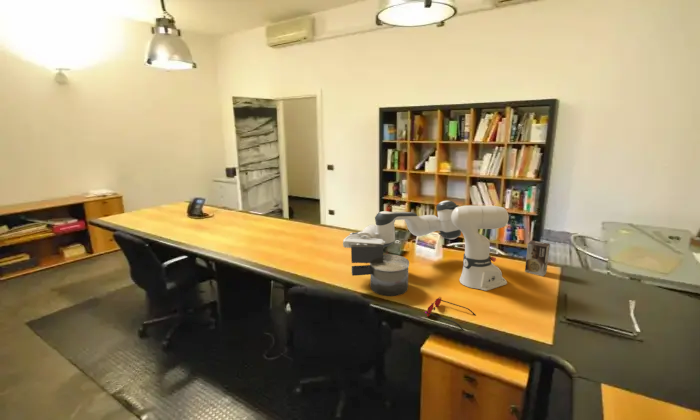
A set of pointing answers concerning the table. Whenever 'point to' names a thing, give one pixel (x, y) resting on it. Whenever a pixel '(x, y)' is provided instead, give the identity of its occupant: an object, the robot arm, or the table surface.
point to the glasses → (438, 305)
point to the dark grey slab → (378, 258)
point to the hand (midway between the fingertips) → (359, 249)
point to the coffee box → (537, 258)
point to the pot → (384, 280)
